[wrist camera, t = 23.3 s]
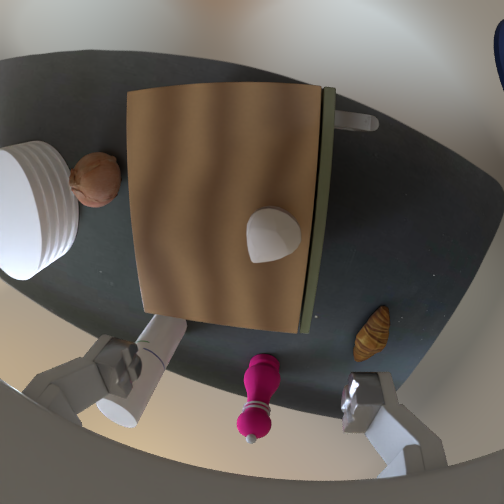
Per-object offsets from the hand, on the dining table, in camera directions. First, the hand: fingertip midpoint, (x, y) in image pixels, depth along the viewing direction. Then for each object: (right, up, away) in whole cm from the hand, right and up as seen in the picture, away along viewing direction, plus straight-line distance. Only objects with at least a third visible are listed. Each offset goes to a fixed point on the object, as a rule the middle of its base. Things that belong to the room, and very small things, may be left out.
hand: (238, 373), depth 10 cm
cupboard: (+1, +16, +34) cm, 37 cm away
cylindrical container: (-16, -10, +48) cm, 52 cm away
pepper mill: (+3, -19, +49) cm, 52 cm away
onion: (-25, +18, +37) cm, 49 cm away
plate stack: (-48, +16, +42) cm, 66 cm away
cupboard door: (+12, +15, +32) cm, 38 cm away
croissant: (+23, -11, +42) cm, 49 cm away
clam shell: (+2, +6, +14) cm, 15 cm away
